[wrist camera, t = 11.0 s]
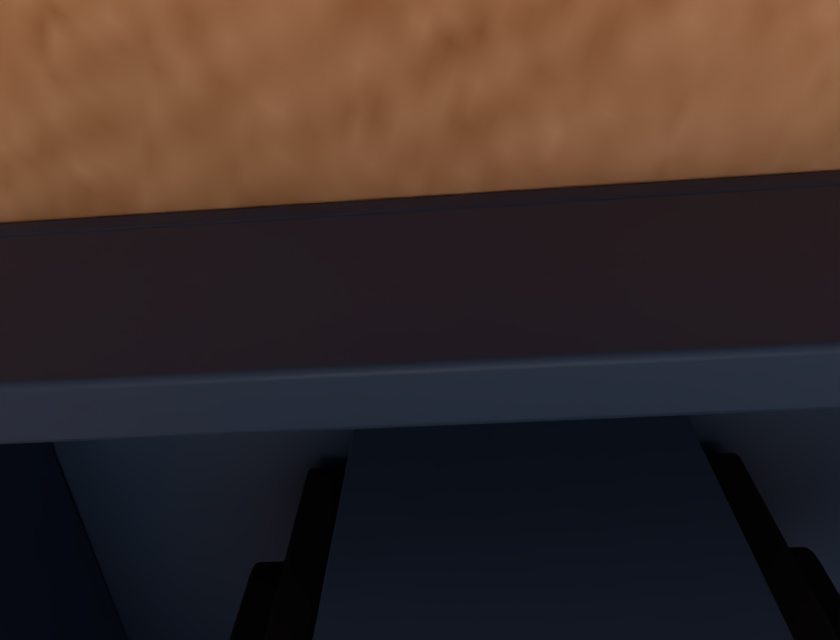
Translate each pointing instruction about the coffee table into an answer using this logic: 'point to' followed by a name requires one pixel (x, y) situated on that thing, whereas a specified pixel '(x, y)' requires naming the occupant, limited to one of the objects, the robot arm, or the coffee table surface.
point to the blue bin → (383, 367)
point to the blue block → (540, 537)
